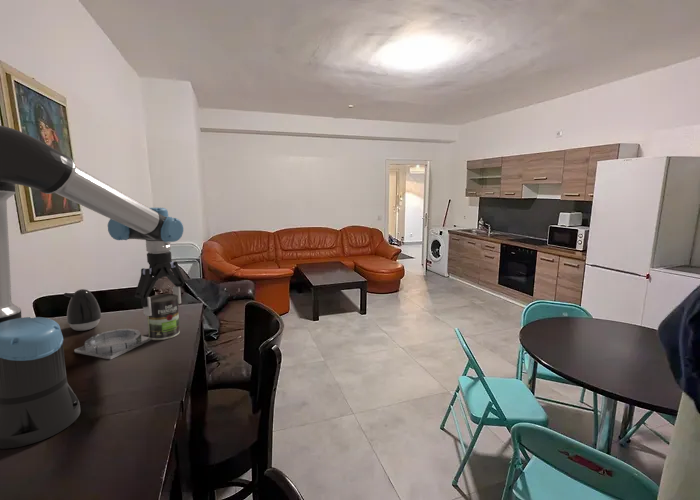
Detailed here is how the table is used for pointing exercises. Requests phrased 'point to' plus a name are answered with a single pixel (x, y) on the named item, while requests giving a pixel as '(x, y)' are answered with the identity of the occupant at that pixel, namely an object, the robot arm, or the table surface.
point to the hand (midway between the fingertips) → (163, 308)
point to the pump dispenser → (82, 310)
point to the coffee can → (163, 317)
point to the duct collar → (112, 343)
